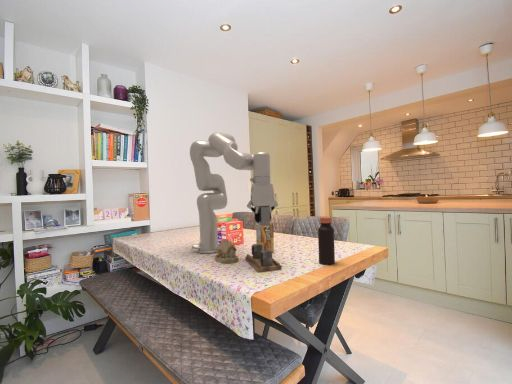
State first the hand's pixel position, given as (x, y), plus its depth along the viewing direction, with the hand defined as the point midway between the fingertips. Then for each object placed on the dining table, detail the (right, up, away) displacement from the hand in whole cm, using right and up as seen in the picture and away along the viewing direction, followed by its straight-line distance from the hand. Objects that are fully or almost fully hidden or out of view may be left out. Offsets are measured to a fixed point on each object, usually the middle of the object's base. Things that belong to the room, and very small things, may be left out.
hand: (262, 221), depth 121 cm
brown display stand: (0, -19, 0) cm, 19 cm away
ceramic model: (-17, -20, +10) cm, 28 cm away
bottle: (+28, -18, -1) cm, 34 cm away
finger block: (0, -1, 0) cm, 1 cm away
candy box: (+2, -19, +20) cm, 28 cm away
